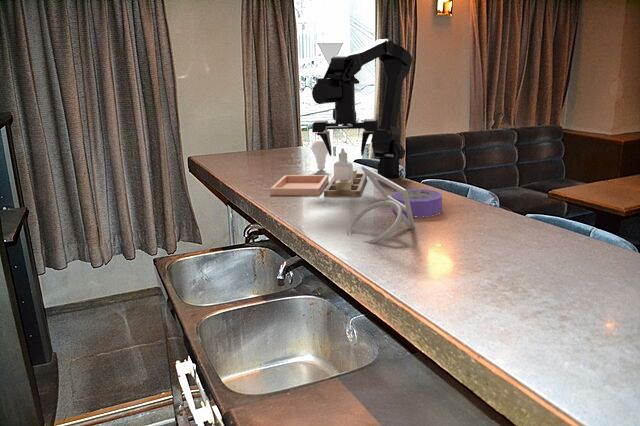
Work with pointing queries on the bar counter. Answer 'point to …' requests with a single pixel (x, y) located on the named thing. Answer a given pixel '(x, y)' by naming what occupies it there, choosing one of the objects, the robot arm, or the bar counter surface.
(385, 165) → the robot arm
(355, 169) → the block
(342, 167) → the eye dropper bottle
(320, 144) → the lightbulb
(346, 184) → the block
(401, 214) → the wire frame
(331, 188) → the frame
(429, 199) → the tape roll
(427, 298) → the bar counter surface
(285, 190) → the tray
